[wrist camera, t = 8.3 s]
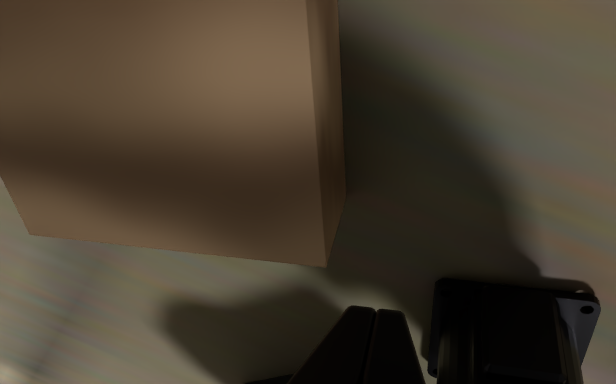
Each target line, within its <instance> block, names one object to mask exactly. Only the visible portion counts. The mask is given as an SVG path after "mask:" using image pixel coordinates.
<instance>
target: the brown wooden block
mask: <svg viewBox="0 0 616 384" xmlns="http://www.w3.org/2000/svg"><path fill="white" fill-rule="evenodd" d="M0 176H1V178H2V180H3V182H4V184H5V186H6V188H7V190H8V192H9V194H10V196H11V198H12V200H13V202H14V204H15V206H16V208H17V210H18V212H19V214H20V216H21V218H22V220H23V222H24V224H25V226H26V228H27V230H28V232H29V234H30V235H37V236H46V237H55V238H64V239H73V240H82V241H91V242H100V243H109V244H118V245H127V246H136V247H145V248H154V249H163V250H172V251H181V252H190V253H199V254H208V255H217V256H226V257H236V258H245V259H254V260H263V261H272V262H281V263H290V264H299V265H308V266H317V267H327V263H328V260H329V256H330V253H331V249H332V246H333V242H334V239H335V235H336V232H337V228H338V225H339V221H340V218H341V214H342V211H343V207H344V204H345V200H346V181H345V158H344V135H343V111H342V88H341V65H340V42H339V19H338V0H0Z"/></svg>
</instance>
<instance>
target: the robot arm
mask: <svg viewBox="0 0 616 384" xmlns="http://www.w3.org/2000/svg"><path fill="white" fill-rule="evenodd" d="M444 289H447V290H450V291H445V290H444ZM583 306H588V307H583ZM600 312H601V307H600V303H599V300H598V298H597V297H595V296H594V295H590V294H584V293H575V292H566V291H557V290H548V289H539V288H529V287H520V286H511V285H502V284H493V283H484V282H475V281H466V280H457V279H448V278H447V279H440V280H438V281H437V282H436V283H435V288H434V299H433V311H432V322H431V334H430V345H429V357H428V369H427V371H428V373H429V375H431V376H432V377H435V378H437V384H584V383H583V377H582V371H581V365H582V362H583V359H584V357H585V354H586V351H587V348H588V345H589V343H590V340H591V337H592V334H593V331H594V329H595V326H596V323H597V320H598V317H599V314H600ZM287 384H426V383H425V380H424V377H423V373H422V370H421V367H420V364H419V360H418V357H417V354H416V351H415V347H414V344H413V341H412V337H411V334H410V331H409V328H408V324H407V321H406V318H405V315H404V314H403V312H401V311H396V310H388V309H379V310H377V312H376V311H375V309H373V308H371V307H363V306H349V307H348V308H347V309H346V310H345V311H344V312H343V314H342V315H341V316H340V318H339V319H338V320H337V321H336V323H335V324H334V325H333V326H332V328H331V329H330V330H329V331H328V333H327V334H326V335H325V336H324V338H323V339H322V340H321V341H320V343H319V344H318V345H317V346H316V348H315V349H314V350H313V351H312V353H311V354H310V355H309V356H308V358H307V359H306V360H305V362H304V363H303V364H302V365H301V367H300V368H299V369H298V370H297V372H296V373H295V374H294V375H293V377H292V378H291V379H290V380H289V382H288V383H287Z"/></svg>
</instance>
